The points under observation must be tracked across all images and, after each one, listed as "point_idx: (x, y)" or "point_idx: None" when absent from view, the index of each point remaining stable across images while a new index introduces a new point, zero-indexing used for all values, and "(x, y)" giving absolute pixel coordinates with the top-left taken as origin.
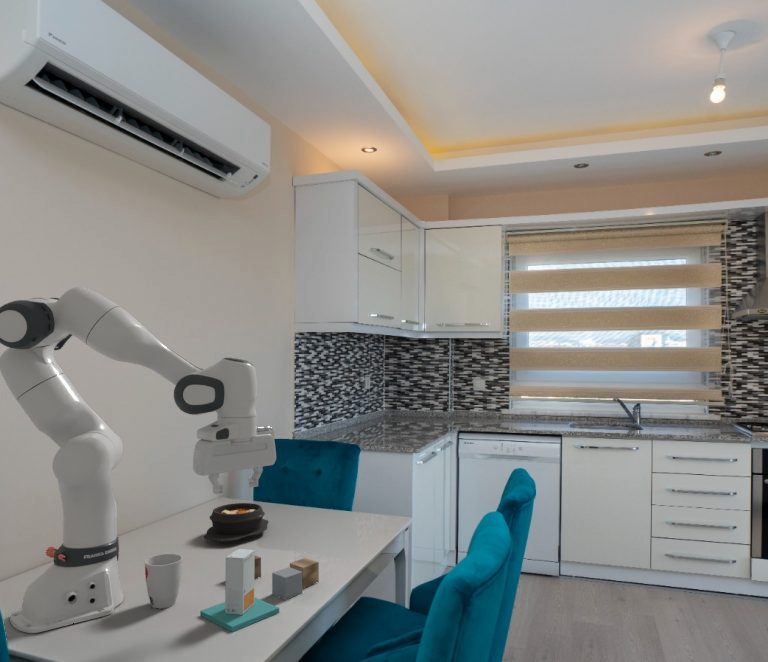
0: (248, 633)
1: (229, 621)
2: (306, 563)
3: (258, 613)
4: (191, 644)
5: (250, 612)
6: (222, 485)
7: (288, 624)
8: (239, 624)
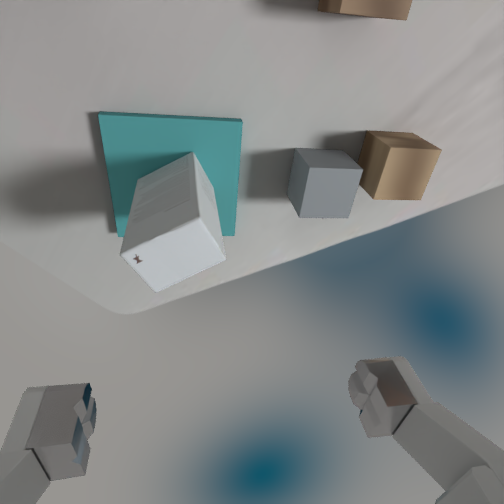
0: None
1: (125, 214)
2: (402, 184)
3: None
4: (28, 217)
5: None
6: (79, 475)
7: (210, 273)
8: None
